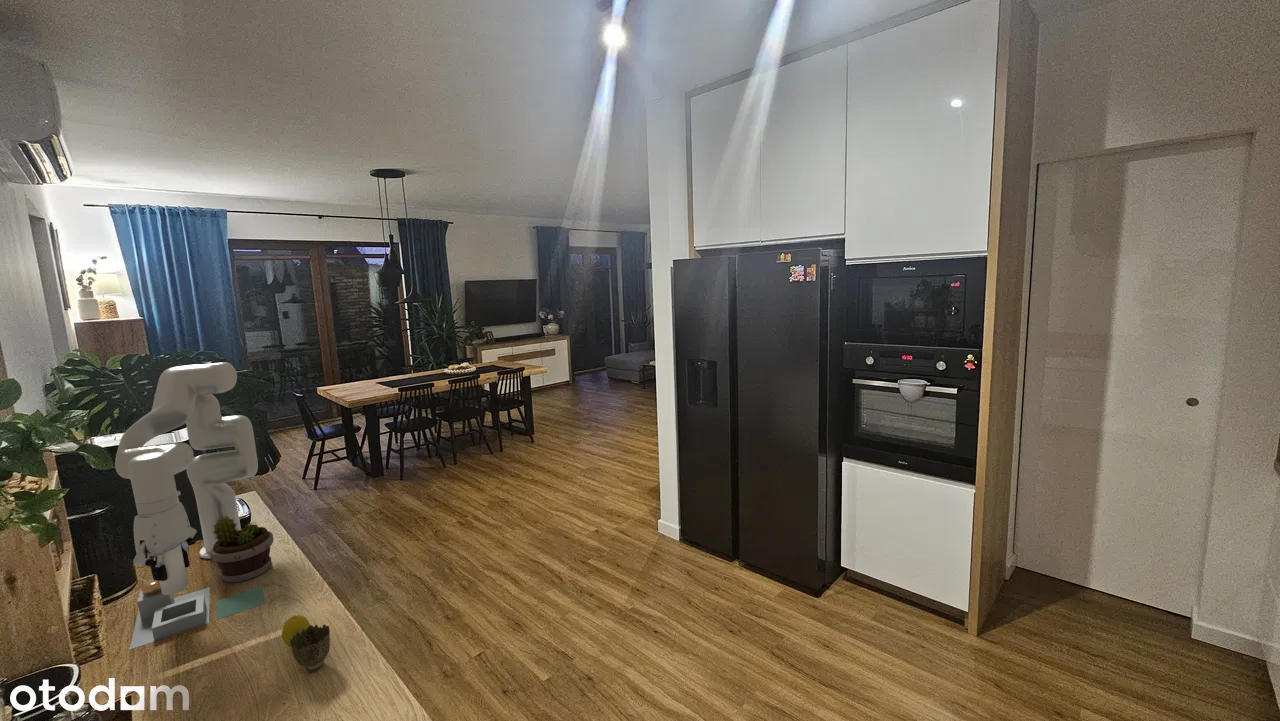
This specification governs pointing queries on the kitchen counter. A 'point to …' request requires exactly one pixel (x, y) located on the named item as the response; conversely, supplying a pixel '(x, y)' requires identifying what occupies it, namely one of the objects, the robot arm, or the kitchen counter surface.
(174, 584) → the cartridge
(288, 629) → the lemon
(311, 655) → the spiky dark pot
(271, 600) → the kitchen counter surface
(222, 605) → the mat
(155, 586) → the plunger
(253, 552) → the flowerpot
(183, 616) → the grey base with tray
